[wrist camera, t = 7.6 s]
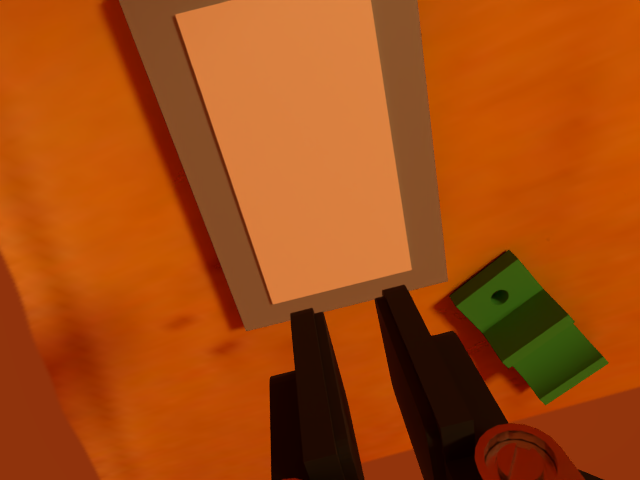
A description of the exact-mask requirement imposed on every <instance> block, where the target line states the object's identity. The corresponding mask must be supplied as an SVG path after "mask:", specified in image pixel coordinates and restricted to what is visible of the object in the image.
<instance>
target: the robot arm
mask: <svg viewBox="0 0 640 480" xmlns="http://www.w3.org/2000/svg"><path fill="white" fill-rule="evenodd" d="M375 304H376V309H377V314H378V319H379V323H380V328H381V333H382V338H383V343H384V348H385V353H386V357H387V362H388V367H389V372H390V377H391V381H392V385H393V389H394V392H395V396H396V399H397V402H398V404H399V407H400V410H401V413H402V416H403V419H404V422H405V425H406V428H407V431H408V434H409V437H410V440H411V443H412V446H413V449H414V452H415V454H416V458H417V460H418V463H419V466H420V469H421V472H422V475H423V478H424V480H603V479H600V478H598V477H596V476H593V475H591V474H588V473H586V472H583V471H581V470H578V469H577V468H576V467H575V465H574V464H573V463H572V461H571V460H570V459H569V457H568V456H567V455H566V453H565V452H564V451H563V449H562V448H561V447H560V446H559V445H558V444H557V443H556V441H555V440H554V439H553V438H552V437H550V436H549V435H547V434H546V433H544V432H542V431H541V430H539V429H537V428H534V427H531V426H528V425H525V424H515V423H508V421H507V420H506V418H505V416H504V415H503V413H502V411H501V410H500V408H499V406H498V404H497V403H496V401H495V399H494V398H493V396H492V394H491V392H490V391H489V389H488V387H487V386H486V384H485V382H484V380H483V379H482V377H481V375H480V374H479V372H478V370H477V368H476V367H475V365H474V363H473V362H472V360H471V358H470V357H469V355H468V353H467V351H466V350H465V348H464V346H463V345H462V343H461V341H460V339H459V338H458V336H457V335H456V333H455V332H453V331H450V332H446V333H442V334H438V335H434V336H431V335H430V333H429V331H428V329H427V327H426V325H425V323H424V321H423V319H422V317H421V315H420V313H419V311H418V309H417V307H416V305H415V303H414V301H413V299H412V297H411V296H410V294H409V292H408V290H407V288H406V286H405V285H400V286H396V287H392V288H388V289H384V290H382V297H378V298H375ZM290 319H291V330H292V341H293V352H294V363H295V371H291V372H287V373H283V374H279V375H275V376H271V377H270V430H271V478H272V480H364V476H363V471H362V466H361V461H360V457H359V452H358V447H357V443H356V438H355V433H354V429H353V424H352V420H351V415H350V410H349V406H348V401H347V397H346V393H345V390H344V386H343V382H342V379H341V375H340V371H339V368H338V364H337V360H336V357H335V353H334V350H333V346H332V342H331V339H330V335H329V331H328V328H327V324H326V320H325V317H324V313H323V311H322V312H318V313H314V310H313V308H309V309H305V310H301V311H297V312H293V313H290Z"/></svg>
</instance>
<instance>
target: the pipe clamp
mask: <svg viewBox="0 0 640 480" xmlns="http://www.w3.org/2000/svg"><path fill="white" fill-rule="evenodd" d="M496 291H498V292H496ZM495 292H496V293H495ZM493 293H495V294H493ZM450 298H451V299H452V301H453V302H454V304H455V306H456V307H457V308H458V309H459V310H460V311H461V312H462V313H463V314H464V315H465V316H466V317H467V318H468V319H469V320H470V321H471V322H472V323H473V324H474V325H475V326H476V327H477V328H478V329H479V330H480V331H481V332H482V333H483V334H484V336H485V337H486V339H487V340H488V342H489V343H490V345H491V346H492V348H493V349H494V351H495V352H496V354H497V355H498V357H499V358H500V360H501V361H502V363H503V364H505V365H506V366H507V367H508V368H510V367H512V366H513V367H514V368H515V369H516V370H517V371H518V372H519V374H520V375H521V376H522V377H523V378H524V380H525V381H526V382H527V383H528V385H529V386H530V387H531V388H532V390H533V391H534V392H535V394H536V395H537V396H538V398H539V399H540V400H541V401H542V402H543V403H544V404H545V405H547V404H548V403H550V402H551V401H553V400H554V399H556V398H557V397H559V396H560V395H562V394H563V393H565V392H566V391H568V390H569V389H571V388H572V387H574V386H575V385H577V384H578V383H580V382H581V381H583V380H584V379H586V378H587V377H589V376H590V375H592V374H593V373H595V372H596V371H598V370H599V369H601V368H602V367H604V366H605V365H607V364H608V362H607V360H606V359H605V358H604V357H603V356H602V355H601V354H600V353H599V352H598V350H597V349H596V348H595V347H594V346H593V345H592V344H591V343H590V342H589V341H588V340H587V339H586V337H585V336H584V335H583V334H582V333H581V332H580V331H579V330H578V329H577V327H576V326H575V325H574V324H573V323H574V321H573V319H572V318H571V317H570V316H569V315H568V314H567V313H566V312H565V311H564V310H563V309H562V308H561V306H560V305H559V304H558V303H557V302H556V301H555V300H554V299H553V298H552V297H551V296H550V295H549V294H548V293H547V292H546V291H545V290H544V289H543V288H542V287H541V286H540V284H539V283H538V282H537V281H536V280H535V278H534V277H533V276H532V275H531V274H530V273H529V271H528V270H527V269H526V268H525V267H524V265H523V264H522V263H521V262H520V261H519V259H518V258H517V257H516V256H515V255H514V254H513V253H512V252H511V251H510V250H508V251H507V252H505V253H504V254H503V255H502V256H500V257H499V258H498V259H496V260H495V261H494V262H493V263H491V264H490V265H489V266H487V267H486V268H485V269H484V270H482V271H481V272H480V273H478V274H477V275H476V276H474V277H473V278H472V279H471V280H469V281H468V282H467V283H465V284H464V285H463V286H462V287H460V288H459V289H458V290H456V291H455V292H454V293H452V294H451V295H450Z"/></svg>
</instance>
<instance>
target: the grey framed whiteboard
mask: <svg viewBox="0 0 640 480" xmlns="http://www.w3.org/2000/svg"><path fill="white" fill-rule="evenodd" d="M119 2H120V5H121V7H122V10H123V13H124V15H125V18H126V20H127V23H128V26H129V28H130V31H131V33H132V36H133V39H134V41H135V44H136V46H137V49H138V52H139V54H140V57H141V59H142V62H143V65H144V67H145V70H146V72H147V75H148V78H149V80H150V83H151V85H152V88H153V91H154V93H155V96H156V98H157V101H158V104H159V106H160V109H161V111H162V114H163V117H164V119H165V122H166V124H167V127H168V129H169V132H170V135H171V137H172V140H173V142H174V145H175V148H176V150H177V153H178V155H179V158H180V161H181V163H182V166H183V168H184V171H185V174H186V176H187V179H188V181H189V184H190V187H191V189H192V192H193V194H194V197H195V200H196V202H197V205H198V207H199V210H200V213H201V215H202V218H203V220H204V223H205V226H206V228H207V231H208V233H209V236H210V239H211V241H212V244H213V246H214V249H215V252H216V254H217V257H218V259H219V262H220V265H221V267H222V270H223V272H224V275H225V277H226V280H227V283H228V285H229V288H230V290H231V293H232V296H233V298H234V301H235V303H236V306H237V309H238V311H239V314H240V316H241V319H242V322H243V324H244V327H245V329H246V331H249V330H253V329H257V328H261V327H265V326H269V325H273V324H277V323H282V322H286V321H290V320H291V319H290V313H293V312H297V311H301V310H305V309H309V308H313V310H314V313H318V312H322V311H323V312H326V311H330V310H334V309H338V308H342V307H346V306H350V305H354V304H358V303H362V302H366V301H370V300H374V299H375V298H378V297H382V290H384V289H388V288H392V287H396V286H400V285H405V286H406V288H407V290H408V291H410V290H414V289H418V288H422V287H426V286H430V285H434V284H438V283H442V282H446V281H448V278H447V269H446V259H445V250H444V241H443V232H442V223H441V214H440V205H439V195H438V186H437V177H436V168H435V159H434V150H433V140H432V131H431V122H430V113H429V104H428V95H427V85H426V76H425V67H424V58H423V49H422V40H421V30H420V21H419V12H418V3H417V0H119Z"/></svg>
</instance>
